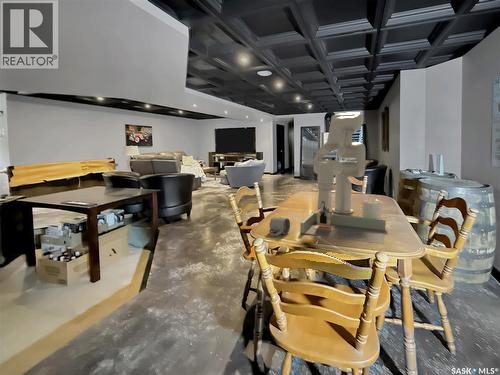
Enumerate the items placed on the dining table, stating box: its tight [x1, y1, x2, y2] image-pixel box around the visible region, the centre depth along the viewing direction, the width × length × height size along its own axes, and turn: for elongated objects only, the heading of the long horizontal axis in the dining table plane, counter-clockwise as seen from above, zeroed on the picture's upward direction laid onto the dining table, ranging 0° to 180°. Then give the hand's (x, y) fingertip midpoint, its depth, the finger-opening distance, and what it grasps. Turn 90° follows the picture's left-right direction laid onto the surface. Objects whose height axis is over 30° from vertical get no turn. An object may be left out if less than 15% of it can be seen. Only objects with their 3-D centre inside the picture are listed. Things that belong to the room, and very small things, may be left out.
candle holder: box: [361, 199, 384, 219], centre depth 146 cm, size 10×10×12 cm
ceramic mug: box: [268, 217, 291, 237], centre depth 133 cm, size 11×8×8 cm
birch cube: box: [316, 209, 333, 225], centre depth 140 cm, size 6×6×6 cm
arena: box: [299, 211, 387, 245], centre depth 134 cm, size 22×36×6 cm, turn 63°
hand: (324, 221), depth 140 cm, fingers closed on birch cube, 6 cm apart
